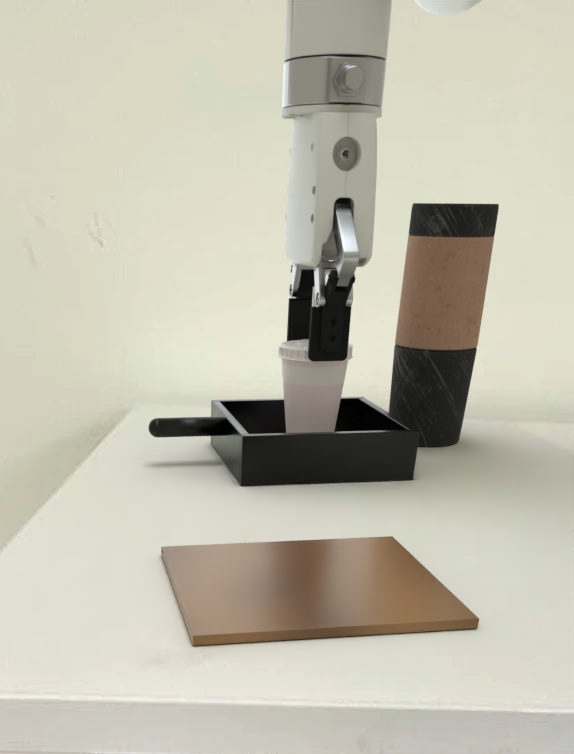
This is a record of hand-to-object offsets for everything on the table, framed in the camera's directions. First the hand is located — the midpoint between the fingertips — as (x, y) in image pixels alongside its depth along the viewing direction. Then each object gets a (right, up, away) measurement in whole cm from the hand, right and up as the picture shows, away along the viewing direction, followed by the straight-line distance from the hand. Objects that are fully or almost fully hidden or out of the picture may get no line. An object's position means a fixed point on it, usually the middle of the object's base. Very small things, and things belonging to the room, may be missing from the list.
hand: (315, 352), depth 74 cm
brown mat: (-3, -24, -21) cm, 32 cm away
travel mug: (+12, -3, +13) cm, 18 cm away
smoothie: (0, -8, +5) cm, 9 cm away
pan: (-4, -8, +4) cm, 10 cm away
